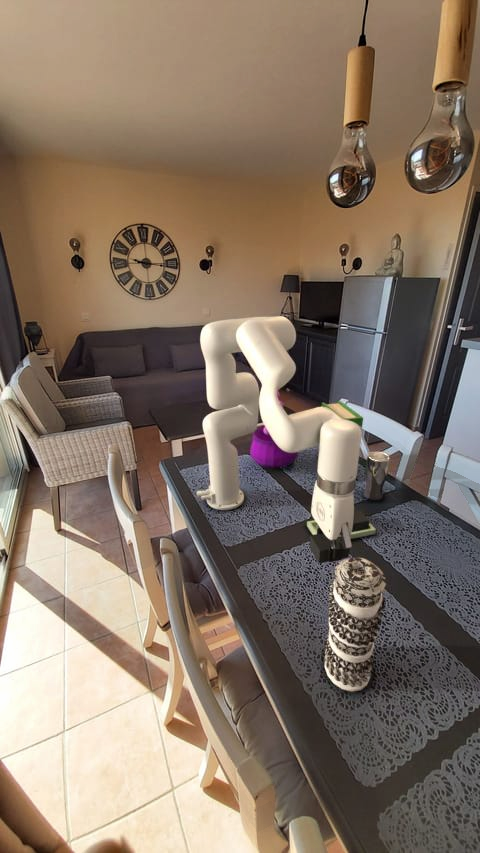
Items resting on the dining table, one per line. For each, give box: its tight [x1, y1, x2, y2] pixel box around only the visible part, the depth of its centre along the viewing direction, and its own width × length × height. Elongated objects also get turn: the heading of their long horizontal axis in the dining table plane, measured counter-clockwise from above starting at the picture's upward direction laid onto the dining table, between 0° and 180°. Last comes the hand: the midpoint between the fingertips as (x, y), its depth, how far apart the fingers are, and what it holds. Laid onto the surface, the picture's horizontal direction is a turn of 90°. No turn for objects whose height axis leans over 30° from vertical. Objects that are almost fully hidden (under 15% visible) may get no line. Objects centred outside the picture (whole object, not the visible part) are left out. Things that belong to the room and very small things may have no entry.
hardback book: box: [317, 400, 364, 456], centre depth 133 cm, size 18×7×24 cm, turn 11°
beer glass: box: [363, 451, 390, 501], centre depth 118 cm, size 7×7×15 cm
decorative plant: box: [249, 390, 299, 469], centre depth 138 cm, size 19×18×30 cm
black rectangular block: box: [308, 533, 351, 564], centre depth 79 cm, size 7×5×4 cm
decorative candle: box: [324, 556, 387, 692], centre depth 64 cm, size 9×9×25 cm
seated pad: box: [352, 510, 370, 532], centre depth 105 cm, size 7×5×4 cm
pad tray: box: [306, 519, 377, 540], centre depth 105 cm, size 17×9×2 cm, turn 104°
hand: (328, 550), depth 79 cm, fingers closed on black rectangular block, 5 cm apart
